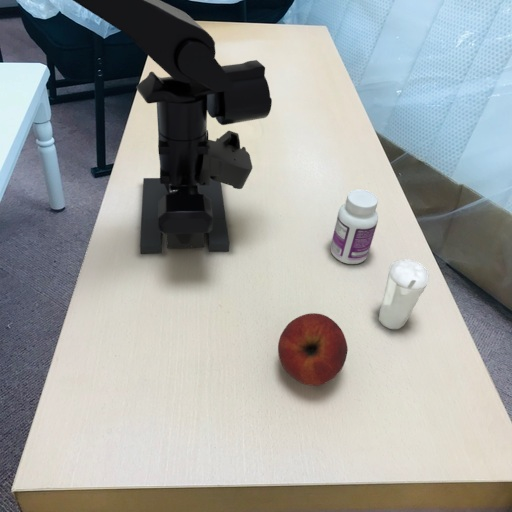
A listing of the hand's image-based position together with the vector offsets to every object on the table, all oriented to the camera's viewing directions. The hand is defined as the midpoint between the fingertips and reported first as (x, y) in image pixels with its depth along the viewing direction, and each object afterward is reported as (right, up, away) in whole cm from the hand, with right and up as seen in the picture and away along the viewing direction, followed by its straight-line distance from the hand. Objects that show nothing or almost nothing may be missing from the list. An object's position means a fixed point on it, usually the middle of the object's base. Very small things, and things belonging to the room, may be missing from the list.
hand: (184, 230), depth 71 cm
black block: (0, -1, +1) cm, 1 cm away
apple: (+16, -16, -13) cm, 26 cm away
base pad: (-1, +2, +5) cm, 6 cm away
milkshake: (+27, -12, -7) cm, 30 cm away
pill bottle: (+23, -3, +2) cm, 23 cm away
